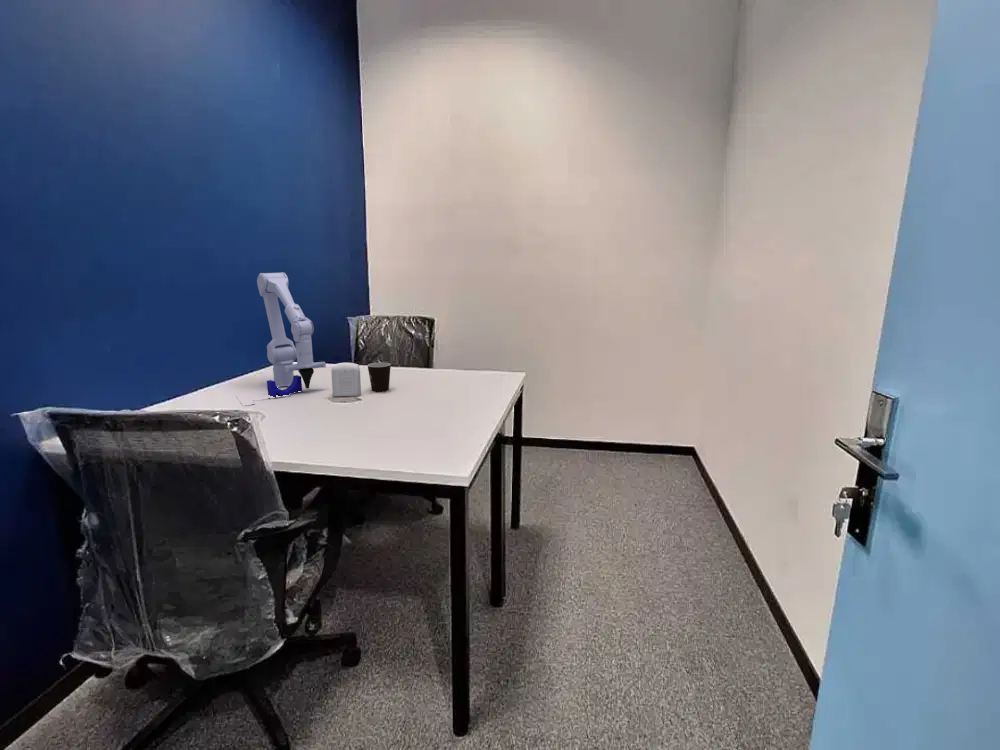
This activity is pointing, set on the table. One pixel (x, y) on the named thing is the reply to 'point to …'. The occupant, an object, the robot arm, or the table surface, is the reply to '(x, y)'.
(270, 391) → the cable clip
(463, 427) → the table surface
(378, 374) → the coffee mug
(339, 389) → the photo printer
